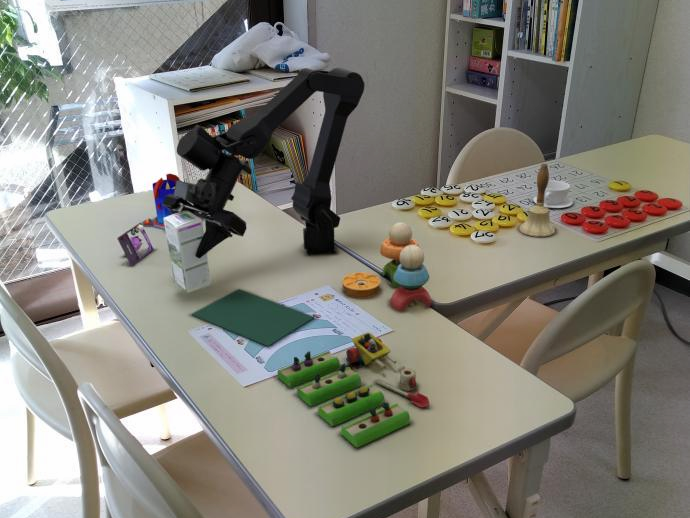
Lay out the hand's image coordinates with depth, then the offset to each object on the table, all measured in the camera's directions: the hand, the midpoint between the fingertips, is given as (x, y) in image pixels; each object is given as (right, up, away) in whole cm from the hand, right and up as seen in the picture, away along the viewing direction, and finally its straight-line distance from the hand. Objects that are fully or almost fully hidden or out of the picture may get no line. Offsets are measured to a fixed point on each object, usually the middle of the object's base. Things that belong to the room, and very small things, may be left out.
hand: (185, 253), depth 146 cm
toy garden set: (+34, -26, -24) cm, 49 cm away
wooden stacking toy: (+40, -8, +4) cm, 41 cm away
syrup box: (+1, -6, +4) cm, 7 cm away
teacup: (+85, +19, +46) cm, 99 cm away
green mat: (+14, -13, -3) cm, 19 cm away
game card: (-16, +2, +22) cm, 27 cm away
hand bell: (+77, +9, +31) cm, 84 cm away
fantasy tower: (-12, +13, +39) cm, 43 cm away
